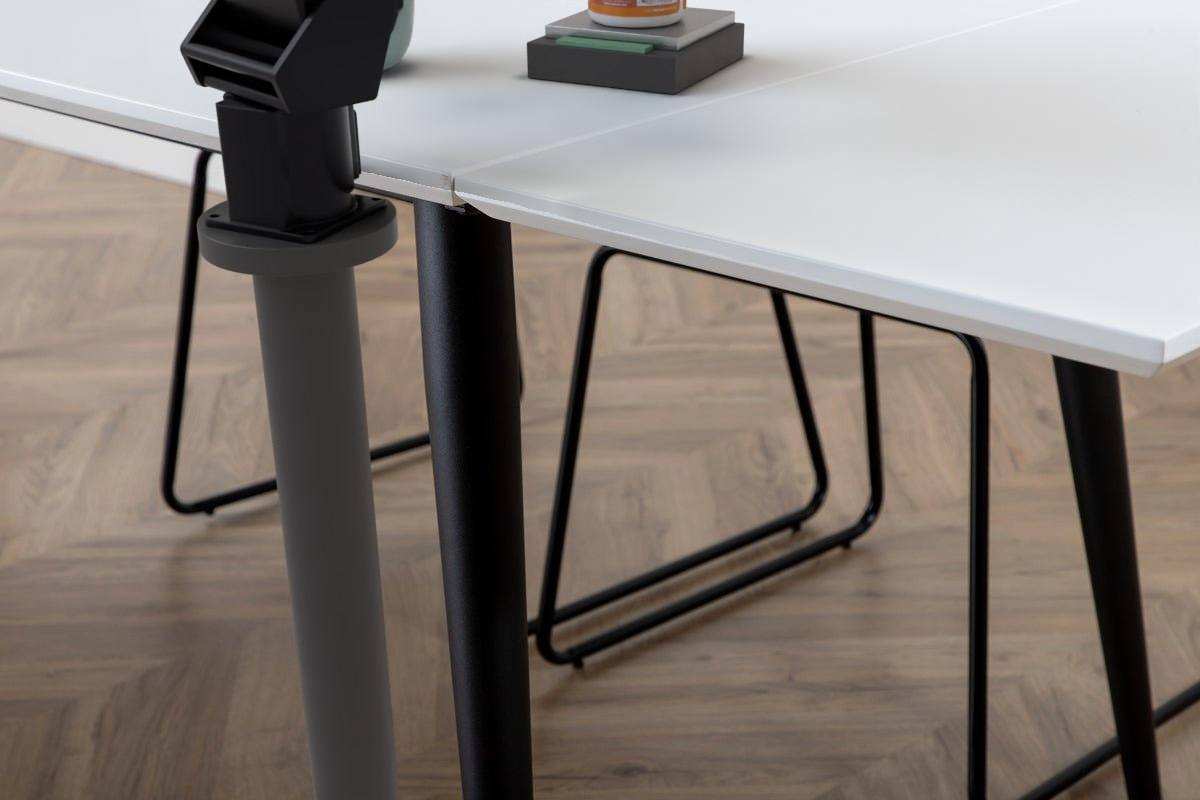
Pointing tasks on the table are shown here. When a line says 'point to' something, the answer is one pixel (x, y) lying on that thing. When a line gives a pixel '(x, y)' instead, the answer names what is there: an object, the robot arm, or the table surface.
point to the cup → (400, 35)
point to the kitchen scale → (637, 51)
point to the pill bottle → (636, 12)
